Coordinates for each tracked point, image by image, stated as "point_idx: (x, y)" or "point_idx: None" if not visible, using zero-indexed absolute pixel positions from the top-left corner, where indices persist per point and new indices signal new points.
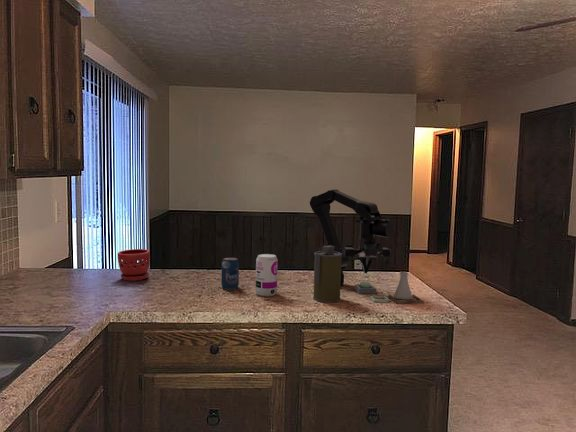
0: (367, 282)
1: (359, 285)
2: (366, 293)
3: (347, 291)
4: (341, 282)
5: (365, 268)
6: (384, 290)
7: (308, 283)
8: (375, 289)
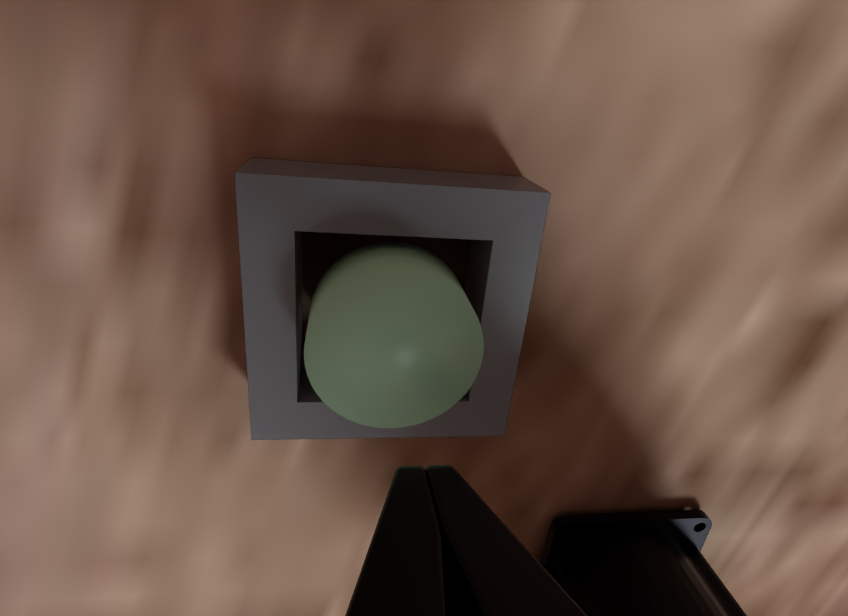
0: (349, 376)
1: None
2: (408, 170)
3: (617, 304)
4: (571, 568)
5: (487, 565)
6: (67, 331)
7: (815, 583)
8: (253, 169)
